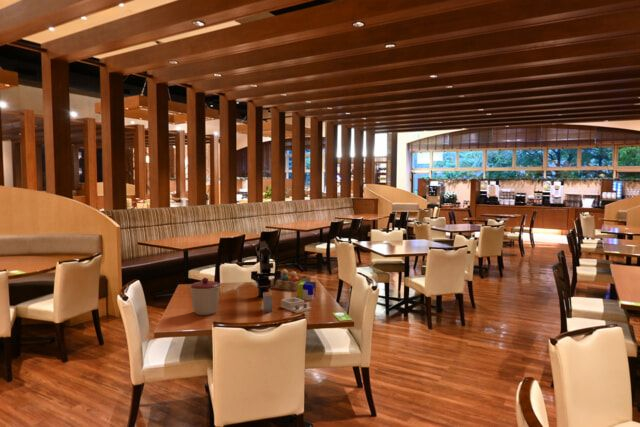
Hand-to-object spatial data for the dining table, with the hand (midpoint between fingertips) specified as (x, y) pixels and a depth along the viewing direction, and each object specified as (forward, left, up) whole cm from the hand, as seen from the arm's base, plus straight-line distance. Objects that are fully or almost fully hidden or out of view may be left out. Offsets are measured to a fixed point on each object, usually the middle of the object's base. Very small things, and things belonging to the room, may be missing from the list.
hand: (266, 286), depth 273 cm
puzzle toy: (+12, +33, -14) cm, 37 cm away
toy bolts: (-13, +60, -14) cm, 63 cm away
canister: (-27, -25, -13) cm, 39 cm away
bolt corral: (-14, +59, -13) cm, 62 cm away
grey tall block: (+4, -6, -13) cm, 15 cm away
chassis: (+17, +6, -13) cm, 22 cm away
